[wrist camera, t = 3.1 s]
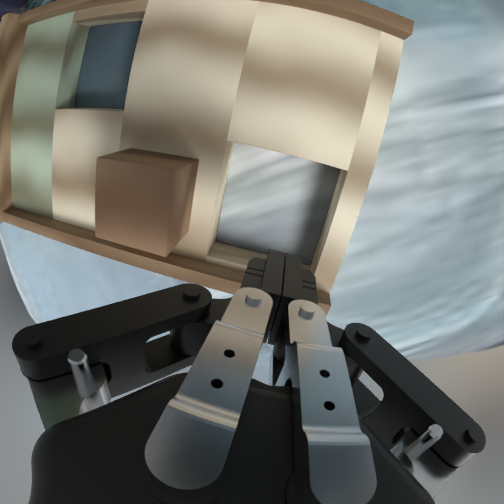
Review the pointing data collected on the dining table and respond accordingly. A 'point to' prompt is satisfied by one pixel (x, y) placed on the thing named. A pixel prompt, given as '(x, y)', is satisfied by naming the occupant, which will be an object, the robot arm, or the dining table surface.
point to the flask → (11, 6)
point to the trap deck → (196, 114)
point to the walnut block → (144, 199)
